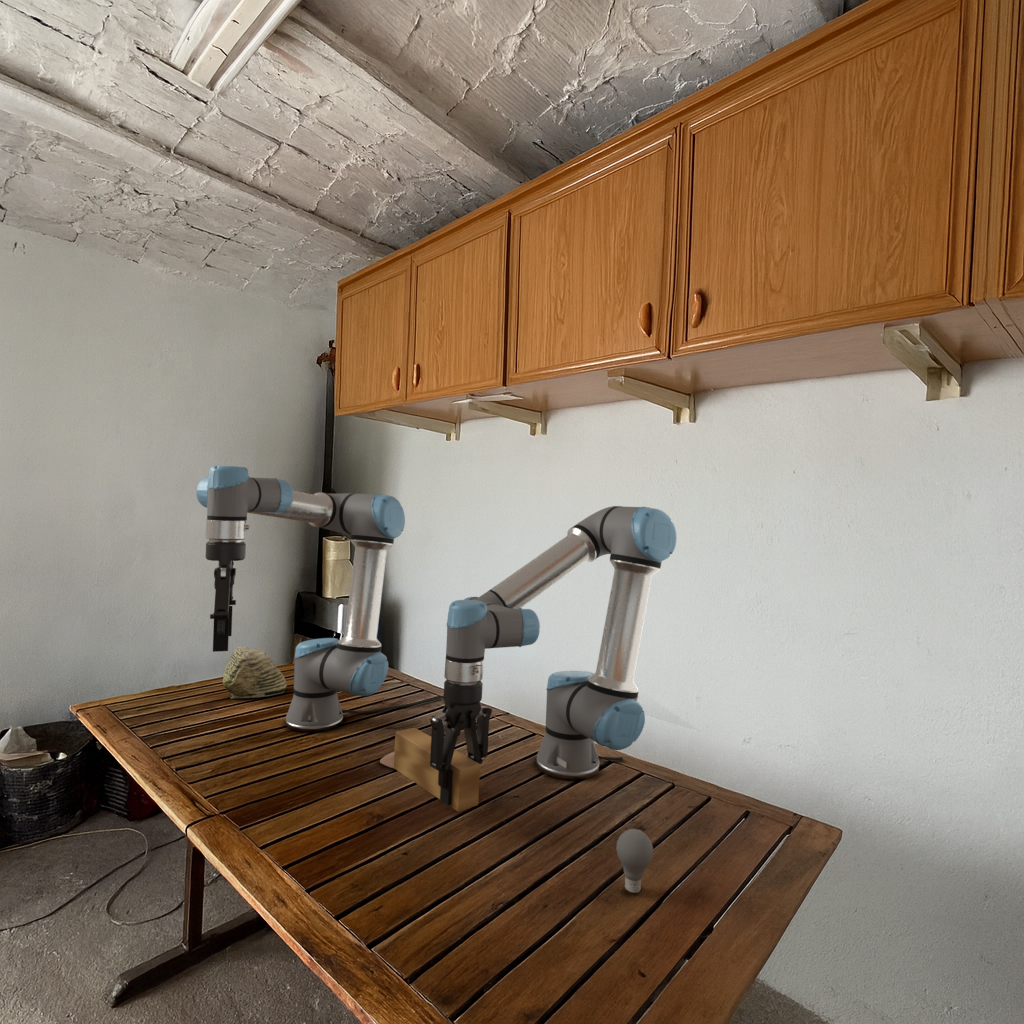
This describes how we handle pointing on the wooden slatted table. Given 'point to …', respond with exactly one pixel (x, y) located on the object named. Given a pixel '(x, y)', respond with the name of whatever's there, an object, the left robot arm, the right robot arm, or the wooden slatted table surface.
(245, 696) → the fossil
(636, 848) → the light bulb
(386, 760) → the anatomical model
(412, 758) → the bar
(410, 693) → the wooden slatted table surface
